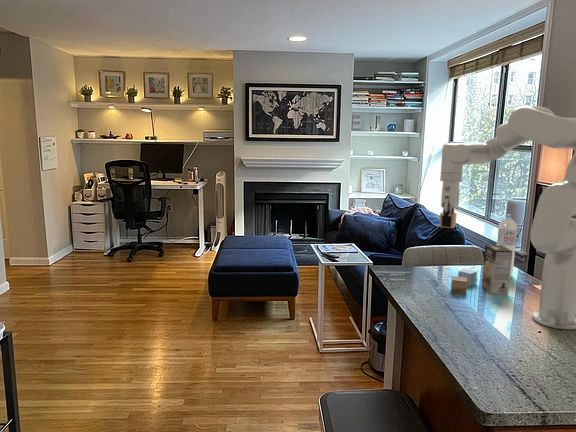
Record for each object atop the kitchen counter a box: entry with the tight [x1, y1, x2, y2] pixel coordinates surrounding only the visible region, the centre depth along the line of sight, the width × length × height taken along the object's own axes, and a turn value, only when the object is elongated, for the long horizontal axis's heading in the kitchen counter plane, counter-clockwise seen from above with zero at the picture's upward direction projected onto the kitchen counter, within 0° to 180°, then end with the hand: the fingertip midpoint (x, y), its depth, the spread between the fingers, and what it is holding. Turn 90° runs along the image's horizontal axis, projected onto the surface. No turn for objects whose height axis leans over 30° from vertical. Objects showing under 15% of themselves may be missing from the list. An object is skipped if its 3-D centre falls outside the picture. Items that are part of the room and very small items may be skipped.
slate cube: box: [457, 268, 478, 287], centre depth 170 cm, size 5×5×5 cm
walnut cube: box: [450, 275, 468, 296], centre depth 160 cm, size 5×5×5 cm
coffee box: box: [481, 244, 513, 295], centre depth 161 cm, size 9×6×16 cm
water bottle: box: [496, 213, 518, 277], centre depth 180 cm, size 7×7×25 cm
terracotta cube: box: [439, 211, 457, 229], centre depth 167 cm, size 5×5×5 cm
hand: (447, 225), depth 168 cm, fingers closed on terracotta cube, 5 cm apart
